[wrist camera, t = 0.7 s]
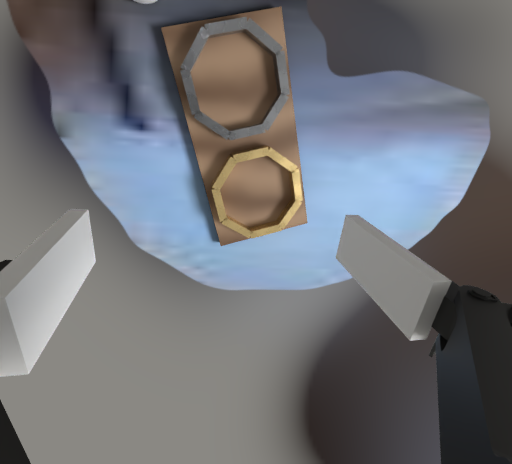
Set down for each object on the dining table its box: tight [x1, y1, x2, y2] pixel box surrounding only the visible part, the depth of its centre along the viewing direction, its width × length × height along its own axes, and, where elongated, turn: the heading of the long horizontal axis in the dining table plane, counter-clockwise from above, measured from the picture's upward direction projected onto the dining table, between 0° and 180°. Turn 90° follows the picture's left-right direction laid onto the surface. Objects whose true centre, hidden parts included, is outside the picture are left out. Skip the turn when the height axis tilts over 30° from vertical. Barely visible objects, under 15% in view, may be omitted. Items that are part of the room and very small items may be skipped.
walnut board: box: [161, 7, 307, 246], centre depth 36 cm, size 26×13×1 cm, turn 11°
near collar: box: [180, 17, 290, 140], centre depth 32 cm, size 12×12×2 cm
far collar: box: [211, 146, 303, 239], centre depth 38 cm, size 12×12×2 cm
